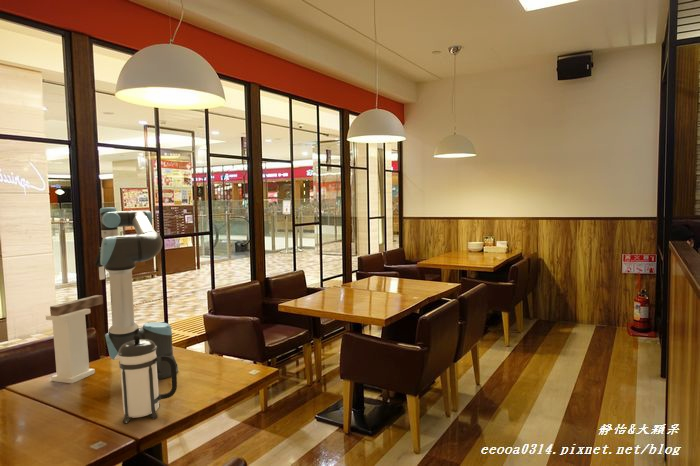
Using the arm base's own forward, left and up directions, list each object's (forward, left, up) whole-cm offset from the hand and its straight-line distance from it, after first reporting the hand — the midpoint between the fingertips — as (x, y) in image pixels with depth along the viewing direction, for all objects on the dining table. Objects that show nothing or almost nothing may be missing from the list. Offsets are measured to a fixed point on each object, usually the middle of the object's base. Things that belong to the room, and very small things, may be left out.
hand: (113, 279), depth 234 cm
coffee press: (-76, +27, -40) cm, 90 cm away
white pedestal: (-12, +26, -39) cm, 49 cm away
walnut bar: (-11, +22, -9) cm, 26 cm away
